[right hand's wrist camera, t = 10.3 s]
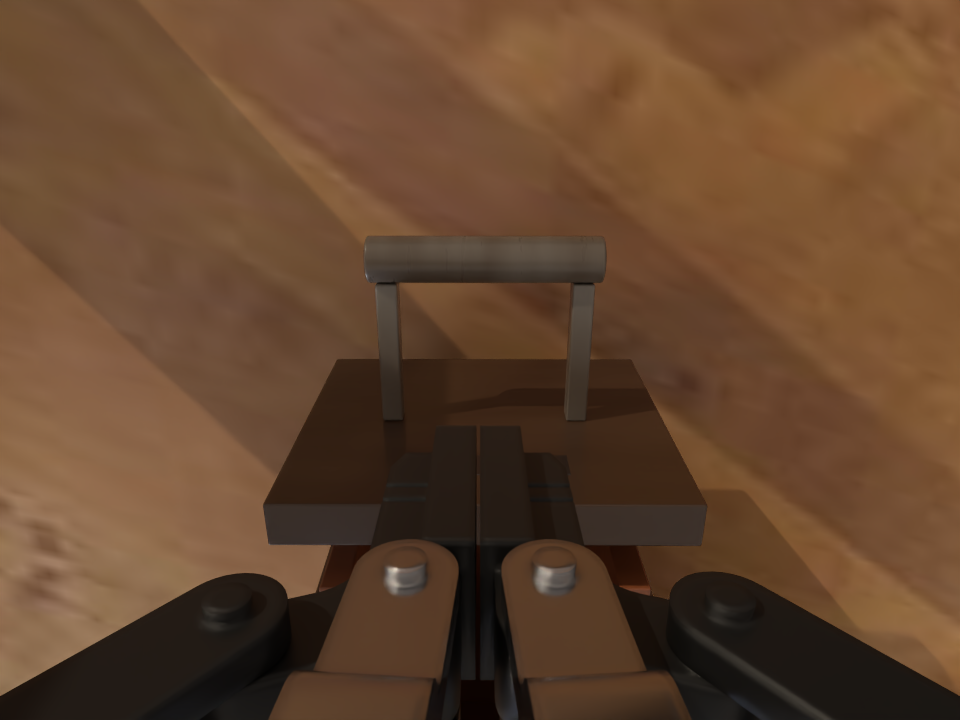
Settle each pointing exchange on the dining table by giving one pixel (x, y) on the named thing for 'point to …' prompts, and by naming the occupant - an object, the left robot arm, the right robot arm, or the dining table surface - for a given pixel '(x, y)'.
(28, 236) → the dining table surface
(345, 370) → the drawer
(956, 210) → the dining table surface
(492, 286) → the dining table surface
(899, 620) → the dining table surface
